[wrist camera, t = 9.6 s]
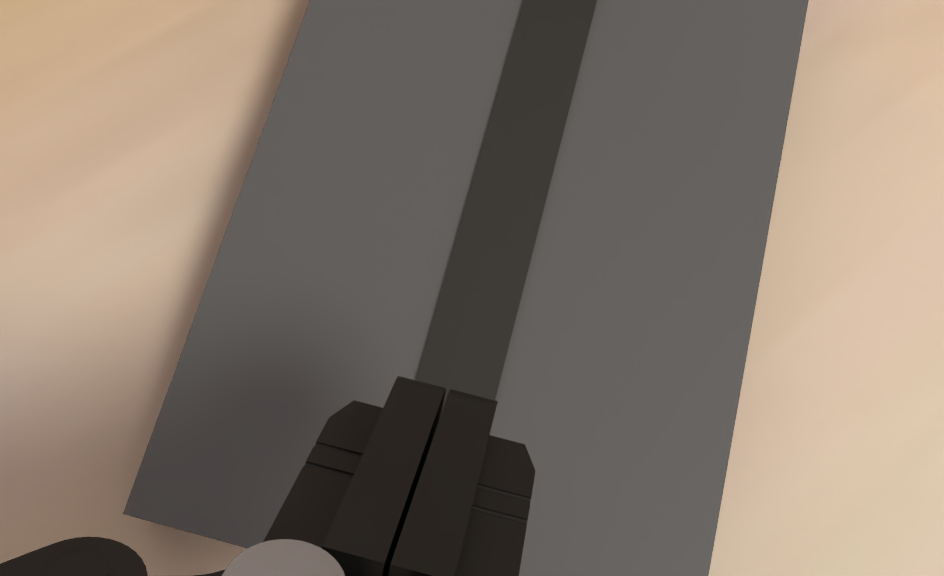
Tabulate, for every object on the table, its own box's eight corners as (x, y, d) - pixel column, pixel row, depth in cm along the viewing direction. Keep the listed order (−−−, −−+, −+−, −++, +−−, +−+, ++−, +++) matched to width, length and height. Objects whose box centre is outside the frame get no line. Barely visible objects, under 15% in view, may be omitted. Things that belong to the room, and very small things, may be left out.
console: (148, 517, 18) (81, 508, 15) (450, -331, 25) (450, -467, 22) (672, 661, 18) (723, 685, 14) (836, -248, 25) (896, -375, 21)
